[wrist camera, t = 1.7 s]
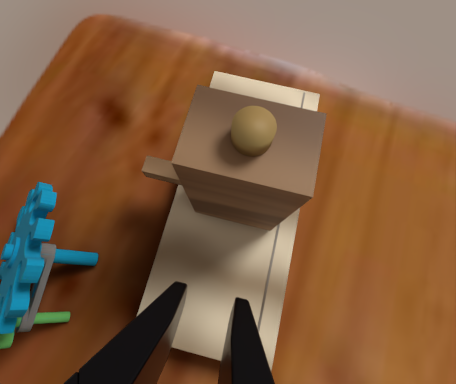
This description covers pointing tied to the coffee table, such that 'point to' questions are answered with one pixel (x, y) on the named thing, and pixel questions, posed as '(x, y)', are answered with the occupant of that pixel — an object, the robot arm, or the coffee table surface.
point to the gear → (32, 266)
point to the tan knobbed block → (244, 157)
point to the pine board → (226, 254)
